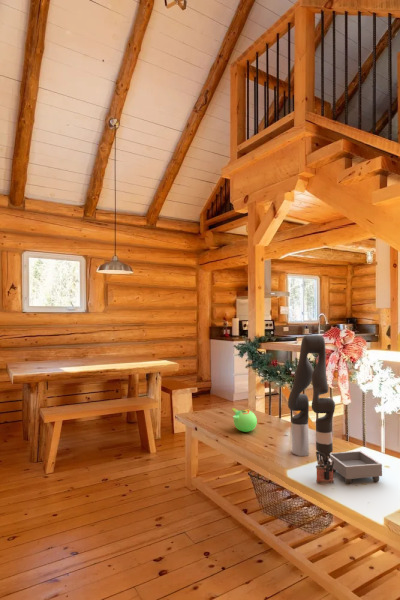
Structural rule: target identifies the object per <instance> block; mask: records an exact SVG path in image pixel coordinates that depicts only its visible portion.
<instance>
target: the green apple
mask: <svg viewBox="0 0 400 600" xmlns="http://www.w3.org/2000/svg"><path fill="white" fill-rule="evenodd" d="M231 409H232V411H233V413H234V415H233V416H232V419H233V424H234V426H235V428H236V429H237V430H238V431H240V432H242V433H248V432H252V431H254V429H255V428H256V427H257V423H258V419H257V416H256V414H255V413H254V412H253V411H252V410H250V409H249V408H248V409H240V410H238V409H237V408H235V407H231Z"/></svg>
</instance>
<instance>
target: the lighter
mask: <svg viewBox="0 0 400 600" xmlns="http://www.w3.org/2000/svg"><path fill="white" fill-rule="evenodd" d="M316 463H317V465H316V466H315V469H316V483H317V484H319V485H321V484H322V485H329V484H334V483H335V482H334V481H335V480H334V472H333V469H332V472H329V478H330V479H329V480H325V479H324V466H323V464H322V461H318V462H316ZM318 464H320V465H318ZM326 467H327V466H326Z"/></svg>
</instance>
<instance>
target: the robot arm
mask: <svg viewBox="0 0 400 600" xmlns="http://www.w3.org/2000/svg"><path fill="white" fill-rule="evenodd" d="M309 354H317V355H318V358H317V363H316V365H315V367H313V366H312V364H311V362H310V360H309V358H308V357H309V356H308V355H309ZM326 357H327V356H326V341H325V338H324V337H323V336H322V335H313V334H309V335H307V334H306V335H303V337H302V339H301V344H300V351H299V358H298V362H297V365H296V368H295V369H296V370H295V373H294V380H293V384H292V388H291V391H290V393H289V394H288V395H289V396H288V401H287V405H288V408H289V410H290V411H291V412H292V411H293V412H298V413H297V414H295V415H293V416H291V452H292V454H293V455H295V456H301V457H306V456H308V455H309V454H310V447H309V446H310V443H309V442H310V441H309V440H310V439H309V414H310V413H309V409H310V402H309V401H310V400H309V397H308V395H307V394H305V393H302V392H304V391H305V390H306V389H307V388H308V387H309V386H310V385H311V383H312V389H313V391H312V393H313V394H312V400H311V410H312V411H313V412H314V413H315V414H325V415H323V416H321V417H317V418H316V419H315V449H316V451H315V456H316V461H317V462H318V461H322V464H323V466H324V479H325V480H329V479H330V478H329V472H332V469H333V464H334V461H331V459H330V453H333V449H334V448H333V445H334V444H333V432H332V431H333V429H332V422H333V417H334V413H335V410H336V403H335V400H333V399H332V398H331V397H320V396H322V395H324V394H327V393H328V392H329V384H328V379H327V369H326V368H327V365H326V363H327V361H326ZM317 462H316V463H317ZM317 465H320V464H318V463H317ZM326 466H327V467H326Z"/></svg>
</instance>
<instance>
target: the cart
mask: <svg viewBox="0 0 400 600" xmlns="http://www.w3.org/2000/svg"><path fill="white" fill-rule="evenodd" d="M330 459H331V461H334V464H333V473H335V472H337V473H338V474H339V475H341V476H342V477H343V478H344V482H345V483H346V484H347V485H351V484H352V483H353V479H365V478H371V479H372V480H373V481H374V482H375V483H376V482H379V481H380V477H382V476H383V468H382V467H383V463H381V462H379V461H378V460H376V459H374V458H373V457H372V456H369V455H368V454H366V453H365V452H363V451H361V450H355V451H353V450H352V451H341V452H331V453H330Z"/></svg>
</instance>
